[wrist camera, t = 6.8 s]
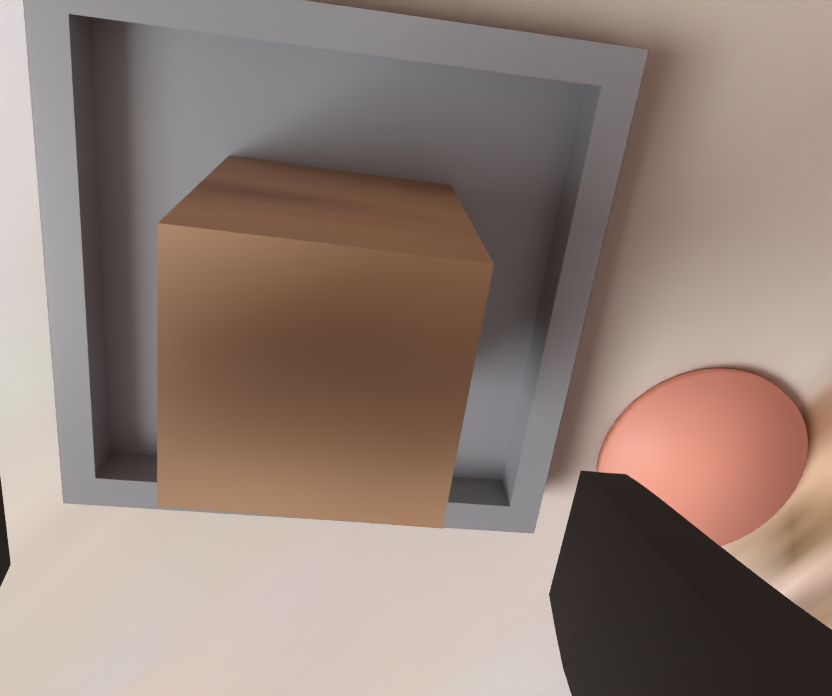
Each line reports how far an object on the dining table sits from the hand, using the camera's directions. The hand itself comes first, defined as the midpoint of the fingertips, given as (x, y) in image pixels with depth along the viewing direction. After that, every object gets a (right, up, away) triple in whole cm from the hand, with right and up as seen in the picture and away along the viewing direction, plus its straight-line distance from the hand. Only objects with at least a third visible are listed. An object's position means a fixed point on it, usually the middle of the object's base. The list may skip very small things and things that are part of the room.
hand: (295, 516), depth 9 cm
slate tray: (-1, +4, +9) cm, 10 cm away
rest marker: (+10, -1, +12) cm, 15 cm away
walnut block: (0, +4, +8) cm, 9 cm away
